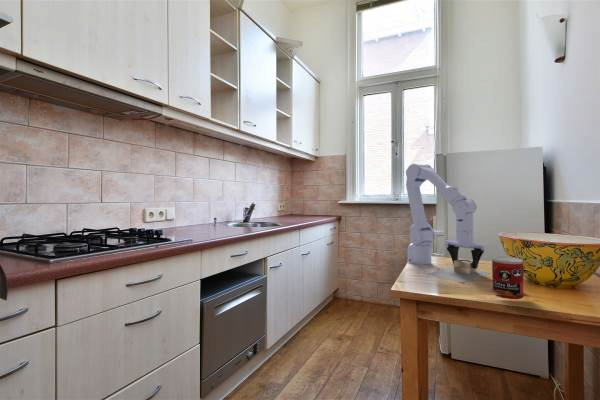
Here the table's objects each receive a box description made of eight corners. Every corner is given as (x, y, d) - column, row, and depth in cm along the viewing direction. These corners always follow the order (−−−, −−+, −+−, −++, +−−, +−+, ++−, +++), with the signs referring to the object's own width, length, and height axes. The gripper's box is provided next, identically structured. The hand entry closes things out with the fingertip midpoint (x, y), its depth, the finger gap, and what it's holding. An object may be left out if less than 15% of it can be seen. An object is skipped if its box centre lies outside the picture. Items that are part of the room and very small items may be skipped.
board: (426, 277, 110) (426, 274, 110) (453, 268, 122) (453, 266, 122) (465, 286, 99) (464, 282, 99) (491, 276, 111) (491, 272, 111)
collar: (453, 271, 114) (453, 260, 114) (461, 268, 117) (461, 258, 117) (469, 274, 109) (469, 263, 109) (476, 271, 113) (476, 261, 113)
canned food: (489, 295, 90) (489, 259, 90) (495, 289, 95) (495, 255, 95) (520, 301, 84) (520, 263, 84) (525, 294, 90) (525, 258, 90)
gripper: (440, 230, 117) (441, 264, 117) (480, 233, 105) (480, 272, 105) (450, 228, 121) (450, 262, 121) (489, 232, 109) (489, 268, 109)
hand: (465, 266), depth 113 cm, fingers open, 7 cm apart
